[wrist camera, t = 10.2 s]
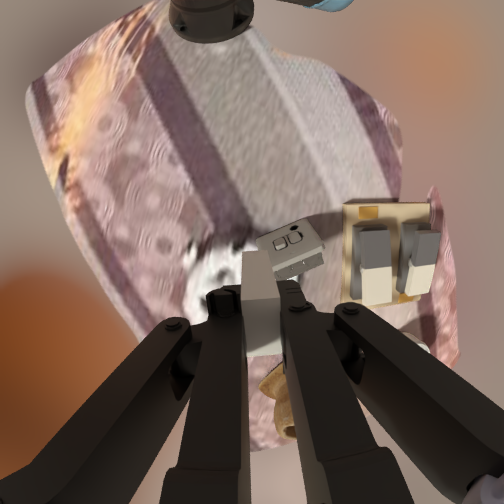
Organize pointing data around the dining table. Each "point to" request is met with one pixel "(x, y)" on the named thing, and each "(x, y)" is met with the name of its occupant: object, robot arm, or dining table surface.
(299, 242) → the electrical switch
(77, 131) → the dining table surface
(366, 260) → the rocker
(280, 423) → the tan piece
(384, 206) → the switch board
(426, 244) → the rocker
